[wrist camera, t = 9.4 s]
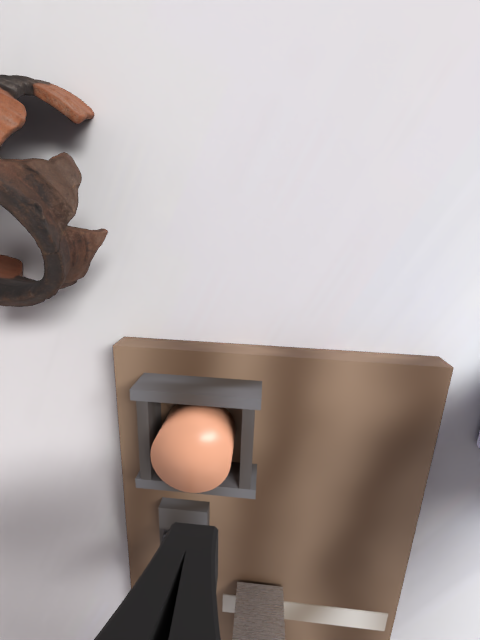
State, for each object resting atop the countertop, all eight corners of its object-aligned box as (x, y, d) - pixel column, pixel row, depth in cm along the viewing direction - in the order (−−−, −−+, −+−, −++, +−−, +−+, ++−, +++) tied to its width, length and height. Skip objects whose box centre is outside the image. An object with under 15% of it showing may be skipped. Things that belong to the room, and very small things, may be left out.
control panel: (438, 356, 18) (477, 385, 15) (376, 641, 25) (393, 707, 21) (124, 336, 19) (94, 359, 16) (142, 612, 26) (123, 670, 22)
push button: (237, 400, 18) (232, 427, 15) (234, 462, 19) (229, 496, 16) (164, 394, 18) (148, 420, 16) (166, 456, 19) (151, 489, 17)
